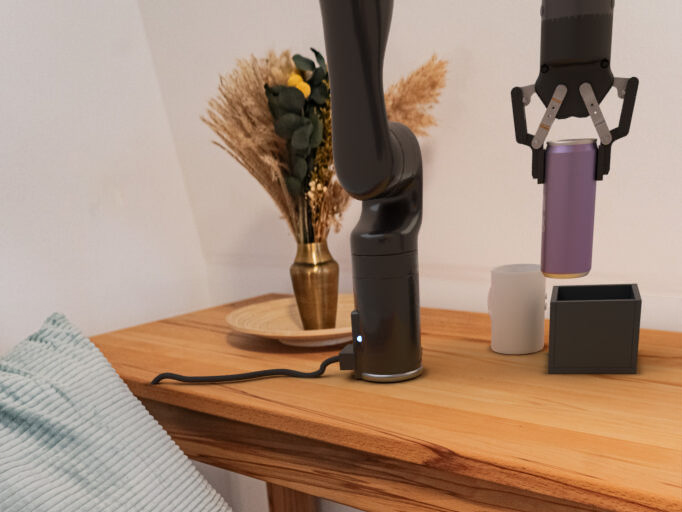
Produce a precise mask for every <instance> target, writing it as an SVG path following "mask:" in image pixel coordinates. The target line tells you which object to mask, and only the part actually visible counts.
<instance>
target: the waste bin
mask: <svg viewBox="0 0 682 512" xmlns="http://www.w3.org/2000/svg"><path fill="white" fill-rule="evenodd" d="M550 296H551V297H550V301H549V321H548V322H549V323H548V324H549V326H548V354H547V358H548V359H547V374H557V375H558V374H576V375H577V374H579V375H581V374H583V375H584V374H586V375H587V374H603V375H604V374H605V375H606V374H611V375H612V374H615V375H616V374H620V375H621V374H626V375H627V374H633V375H634V374H637V369H638V368H637V367H638V356H639V344H640V331H641V319H642V318H641V317H642V305H643V299H642V296H641V293H640V289H639V286H638V283H606V284H605V283H602V284H601V283H600V284H599V283H598V284H567V285H566V284H565V285H563V284H561V285H553V286H552V290H551V295H550Z"/></svg>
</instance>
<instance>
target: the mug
mask: <svg viewBox="0 0 682 512" xmlns="http://www.w3.org/2000/svg"><path fill="white" fill-rule="evenodd" d="M540 265H541V264H537V263H510V264H503V265H499V266H498V265H497V266H494V267H493V268H492V269H491V271H490V287H489V290H488V293H487V311H488V316H489V318H490V332H491V333H490V348H491V350H492V351H493V352H495V353H498V354H504V355H527V354H533V353H537V352H539V351H540V352H541V351H542V350H543V349H544V346H545V323H546V321H545V318H546V311H547V307H548V304H547V302H546V300H547V299H548V293H547V292H546V288H547V287H546V286H547V285H546V284H547V277H545V276H543V274H542V272H541V270H540Z"/></svg>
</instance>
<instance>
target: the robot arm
mask: <svg viewBox="0 0 682 512" xmlns="http://www.w3.org/2000/svg"><path fill="white" fill-rule="evenodd" d="M318 4H319V10H320V15H321V16H320V17H321V24H322V32H323V33H322V34H323V39H324V40H323V41H324V49H325V50H324V51H325V57H326V58H325V59H326V65H327V66H326V67H327V73H328V74H327V75H328V80H329V81H328V82H329V92H330V116H331V117H330V120H331V143H332V144H331V145H332V147H331V148H332V158H333V159H332V160H333V167H334V171H335V174H336V179H337V181H338V183H339V185H340V186H341V188H342V189H343V191H344V192H345V193H346V194H347V195H348V196H349V197H351V198H352V199H354V200H357V201H360V202H361V211H360V215H359V218H358V221H357V223H356V224H355V226H354V228H353V229H352V230H351V232H350V235H349V250H350V251H349V252H350V263H351V277H352V278H351V280H352V292H353V295H352V296H353V310H352V311H351V312H350V324H351V325H350V326H351V340H352V341H351V342H352V343H349V344H346V345H345V346H344V347H343V349H341V350H340V351H339V352H338V355H333V356H331V357H328V358H326V359H325V360H323V361H322V362H321V364H320V365H319V369H316V370H315V371H311V372H304V371H298V370H294V369H291V368H270V369H262V370H255V371H249V372H241V373H235V374H222V375H199V376H198V375H197V376H195V375H191V376H190V375H189V376H188V375H182V374H179V373H174V372H169V371H168V372H161V373H159V374H158V375H156V376H155V377H154V378H153V379H152V380H151V381H150V385H158V384H159V383H160V382H161V381H163V380H172V381H177V382H181V383H188V384H203V383H227V382H237V381H238V382H239V381H246V380H252V379H258V378H264V377H272V376H273V377H274V376H288V377H292V378H293V377H294V378H301V379H317V378H319V377H322V376H323V375H324V374H325V372H326V369H327V367H329V366H331V365H332V364H336V363H338V364H339V365H338V366H339V371H353V372H354V379H356V380H365V381H369V382H374V383H375V382H376V383H392V382H402V381H406V380H407V381H408V380H411V379H413V378H416V377H419V376H420V375H422V374H423V372H424V363H423V346H422V322H421V321H422V320H421V296H420V295H421V293H420V268H419V267H420V266H419V235H420V230H421V228H422V223H423V217H424V164H423V154H422V149H421V146H420V142H419V139H418V137H417V136H416V134H415V133H414V131H412V129H411V128H410V127H409V126H408V125H406V124H404V123H401V122H400V121H399V122H398V121H393V120H389V119H388V113H387V107H386V99H385V92H384V90H385V89H384V64H385V57H386V52H387V46H388V41H389V37H390V31H391V27H392V22H393V15H394V6H395V0H318ZM615 6H616V0H541V5H540V11H539V13H540V42H539V43H540V45H539V47H540V48H539V71H538V72H539V73H538V76H537V78H536V80H535V82H534V83H531V84H527V85H524V86H514V87H512V88H511V90H510V99H511V101H510V102H511V110H512V118H513V126H514V127H513V128H514V137H515V141H516V143H517V144H518V145H523V146H526V147H529V149H530V150H531V178H532V180H537V181H536V183H537V185H543V184H544V154H545V150H546V148H545V144H544V143H545V141H546V140H547V137H548V135H549V133H550V131H551V129H552V126H553V124H554V122H555V120H566V119H569V118H577V119H584V118H586V119H587V118H588V117H590V119H591V121H592V124H593V127H594V129H595V131H596V134H597V135H598V138H599V140H600V141H599V144H597V146H598V164H597V182H602V181H604V176H608V175H609V173H610V170H611V160H612V159H611V158H612V146H613V144H614V142H616V141H618V140H620V139H623V138H625V137H627V136H628V135H629V133H630V129H631V123H632V119H633V116H634V115H633V114H634V111H635V105H636V99H637V95H638V90H639V85H640V80H639V78H638V77H637V76H631V77H620V76H619V77H618V76H614V73H613V71H612V68H611V62H612V61H611V60H612V46H613V25H614V12H615V11H614V10H615ZM612 88H615V89H616V91H617V93H616V95H617V97H618V98H619V99H620V100H622V105H621V109H620V114H619V120H618V125H617V126H616V127H614V128H612V129H609V126H608V124H607V122H606V119H605V117H604V114H603V112H602V110H601V107H600V105H601V103H602V102H603V100H605V98H606V96H607V95H608V94H609V92H610V91H611V89H612ZM534 94H536V95H537V97H538V98H539V100H540V101H541V103H542V105H543V106H544V108H545V109H546V110H545V112H544V114H543V117H542V118H541V120H540V123H539V125H538V128H537V129H536V131H535V134H532V133H529V132H528V124H527V123H528V122H527V115H526V107H528V106H530V104H531V102H532V96H533V95H534Z"/></svg>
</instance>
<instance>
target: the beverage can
mask: <svg viewBox="0 0 682 512" xmlns="http://www.w3.org/2000/svg"><path fill="white" fill-rule="evenodd" d="M597 164H598V138H596V137H587V138H567V139H556V140H548V141H546V147H545V154H544V184H542V211H541V216H542V217H541V237H540V239H541V240H540V264H539V265H540V270H541V272H542V274H543V276H545V277H546V279H554V280H555V279H556V280H570V279H572V280H573V279H579V278H584V277H586V276H588V275H589V273H590V272H591V270H592V266H593V265H592V263H593V248H594V247H593V246H594V230H595V229H594V228H595V215H596V214H595V213H596V200H597V199H596V197H597V196H596V195H597V183H598V181H597Z"/></svg>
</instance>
